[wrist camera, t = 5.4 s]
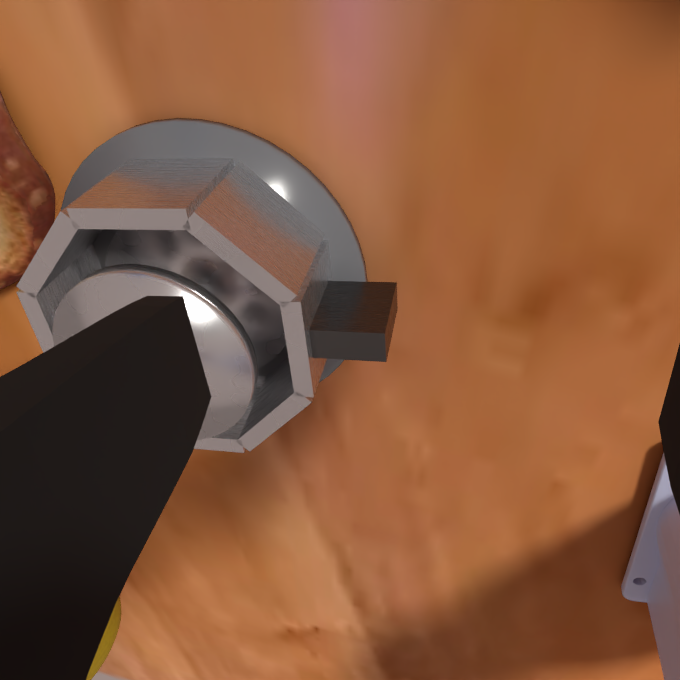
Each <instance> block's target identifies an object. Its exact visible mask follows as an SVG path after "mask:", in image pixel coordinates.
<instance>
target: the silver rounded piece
mask: <svg viewBox="0 0 680 680" xmlns="http://www.w3.org/2000/svg"><path fill="white" fill-rule="evenodd" d="M146 296H183V298H184V302H185V306H186V309H187V313H188V316H189V320H190V323H191V327H192V330H193V334H194V337H195V341H196V344H197V348H198V351H199V355H200V358H201V362H202V365H203V369H204V372H205V376H206V379H207V383H208V386H209V390H210V393H211V400H210V403H209V406H208V409H207V412H206V415H205V418H204V421H203V424H202V427H201V430H200V433H199V435H198V438H197V440H202V439H207V438H211V437H214V436H217V435H219V434H221V433H223V432H225V431H227V430H228V429H230V428H231V427H232V426H234V425H235V424H236V423H237V422H238V421H239V420H240V419H241V417H242V416H243V414H244V413H245V411H246V409H247V407H248V405H249V403H250V401H251V399H252V396H253V394H254V392H255V389H256V385H257V380H258V369H259V368H260V367H262V366H264V365H266V364H268V363H269V362H270V361H271V360H273V359H274V358H275V357H276V356H277V355H278V354H279V353H280V352H281V351H282V349H283V348H284V346H285V345H286V339H285V333H284V327H283V321H282V315H281V308H280V305H279V304H278V303H276V302H275V301H274V300H273V299H271V298H270V297H269V296H268V295H266V294H265V293H264V292H263V291H261V290H260V289H259V288H258V287H256V286H255V285H254V284H253V283H251V282H250V281H249V280H248V279H246V278H245V277H244V276H243V275H241V274H240V273H239V272H238V271H237V270H235V269H234V268H233V267H232V266H230V265H229V264H228V263H227V262H225V261H224V260H223V259H222V258H220V257H219V256H218V255H217V254H215V253H214V252H213V251H212V250H210V249H209V248H208V247H207V246H205V245H204V244H203V243H202V242H200V241H199V240H198V239H197V238H195V237H194V236H193V235H192V234H190V233H189V232H188V231H187V230H123V229H119V230H118V231H117V233H116V234H115V235H114V237H113V239H112V241H111V242H110V245H109V247H108V250H107V253H106V259H105V267H104V268H101V269H99V270H96V271H94V272H92V273H90V274H89V275H87V276H86V277H84V278H83V279H82V280H81V281H79V282H78V283H77V284H76V285H75V286H74V287H73V288H72V289H71V290H70V291H69V292H68V293H67V294H66V295H65V297H64V298H63V299H62V300H61V302H60V303H59V305H58V307H57V309H56V312H55V315H54V319H53V327H52V333H53V342H54V346H56V345H58V344H59V343H61V342H63V341H65V340H66V339H68V338H70V337H71V336H73V335H75V334H77V333H78V332H80V331H82V330H83V329H85V328H87V327H89V326H90V325H92V324H94V323H96V322H97V321H99V320H101V319H103V318H104V317H106V316H108V315H110V314H111V313H113V312H115V311H117V310H119V309H121V308H123V307H124V306H126V305H128V304H130V303H132V302H134V301H137V300H139V299H141V298H143V297H146Z"/></svg>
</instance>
